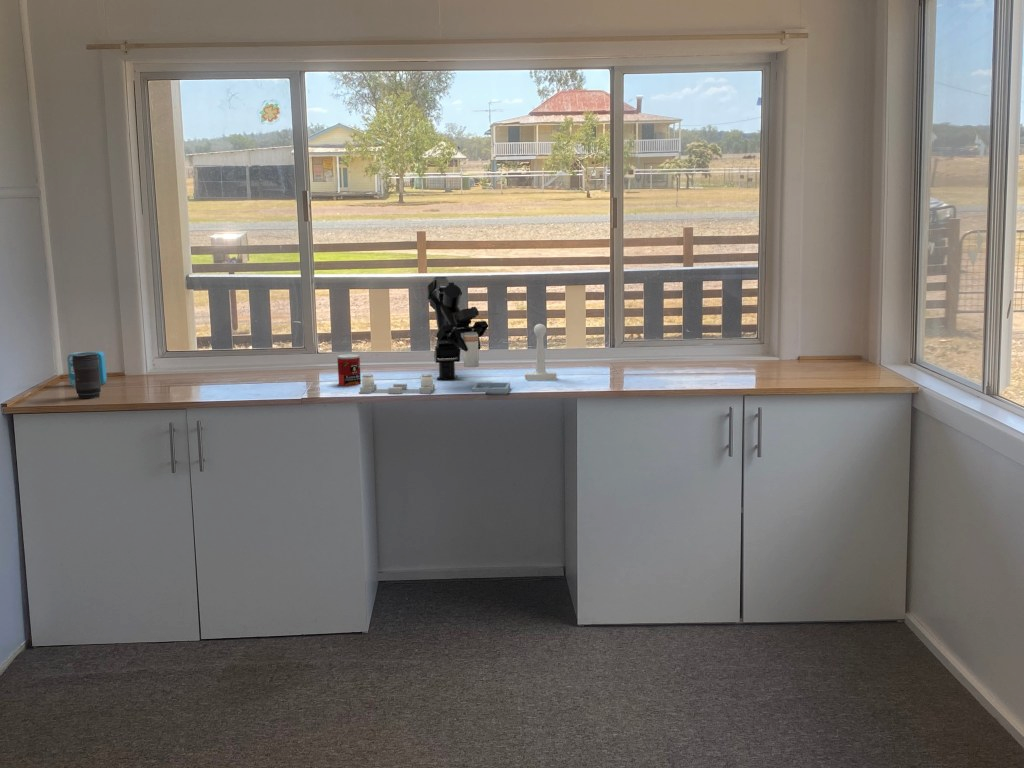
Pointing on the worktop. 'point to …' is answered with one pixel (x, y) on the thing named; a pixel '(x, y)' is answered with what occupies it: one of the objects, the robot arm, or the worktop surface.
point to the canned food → (349, 370)
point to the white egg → (368, 381)
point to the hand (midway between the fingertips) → (473, 349)
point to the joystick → (540, 358)
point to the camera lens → (87, 374)
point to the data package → (101, 367)
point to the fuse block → (397, 389)
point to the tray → (492, 388)
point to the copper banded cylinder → (471, 349)
